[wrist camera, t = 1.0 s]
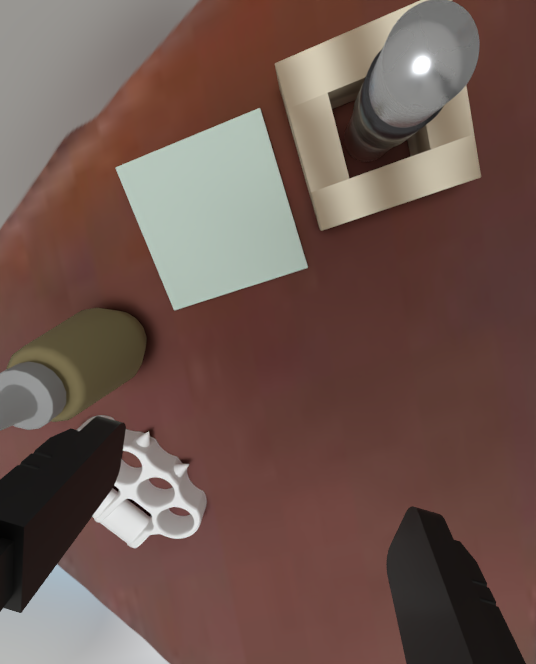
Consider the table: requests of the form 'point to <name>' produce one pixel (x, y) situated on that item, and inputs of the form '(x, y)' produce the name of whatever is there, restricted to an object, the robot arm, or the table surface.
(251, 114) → the sage mat
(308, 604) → the table surface
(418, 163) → the eye block
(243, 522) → the table surface
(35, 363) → the squeeze bottle
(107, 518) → the white brass knuckles
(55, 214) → the table surface
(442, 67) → the steel peg
